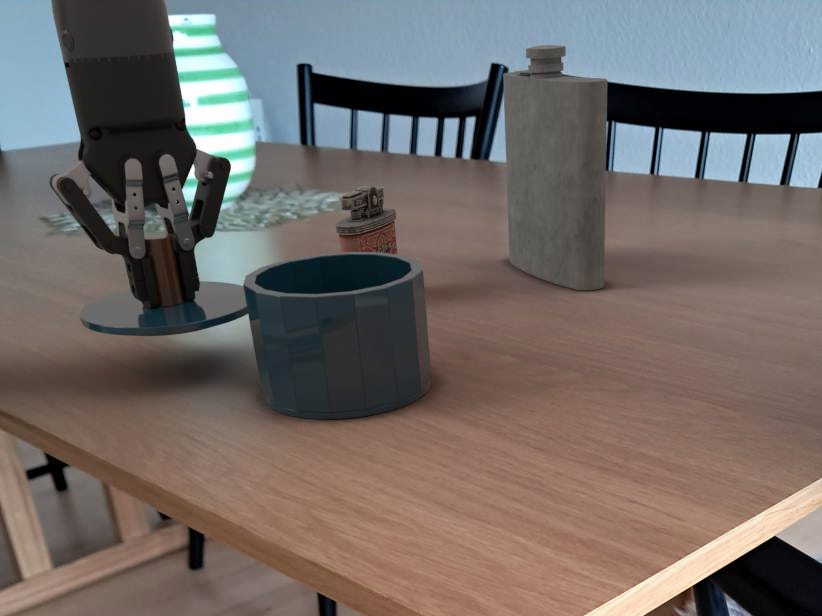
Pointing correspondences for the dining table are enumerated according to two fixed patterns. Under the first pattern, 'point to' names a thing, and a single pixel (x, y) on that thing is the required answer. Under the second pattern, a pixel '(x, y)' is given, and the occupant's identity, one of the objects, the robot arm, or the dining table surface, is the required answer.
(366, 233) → the lighter
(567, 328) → the dining table surface
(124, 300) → the pot lid
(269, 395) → the pot
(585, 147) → the hip flask
